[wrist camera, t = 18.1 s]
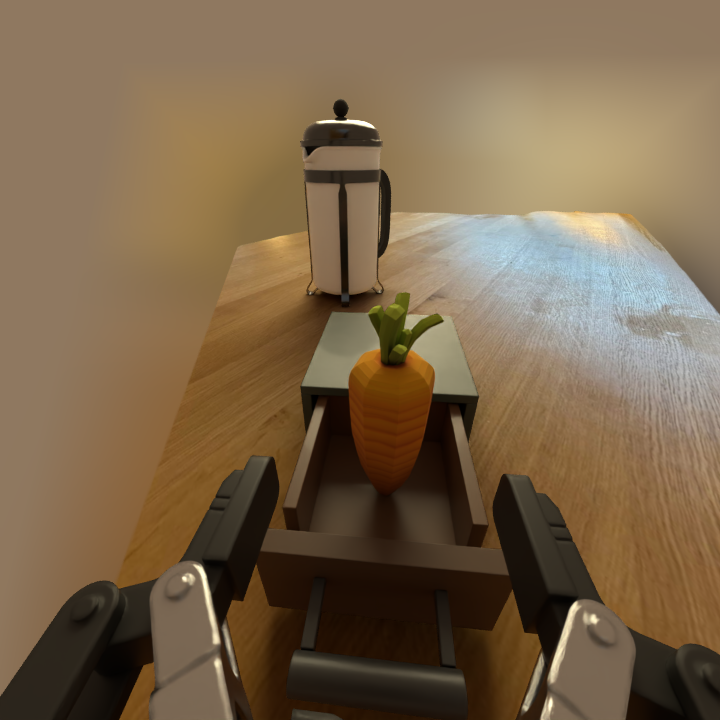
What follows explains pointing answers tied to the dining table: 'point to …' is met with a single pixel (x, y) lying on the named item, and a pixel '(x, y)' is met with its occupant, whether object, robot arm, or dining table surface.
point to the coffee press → (345, 204)
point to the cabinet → (357, 336)
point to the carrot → (391, 397)
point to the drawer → (384, 563)
